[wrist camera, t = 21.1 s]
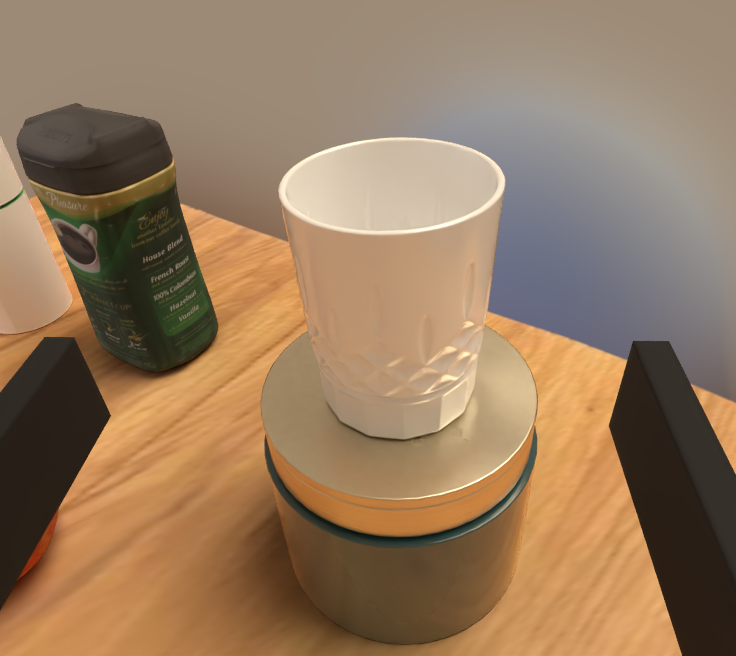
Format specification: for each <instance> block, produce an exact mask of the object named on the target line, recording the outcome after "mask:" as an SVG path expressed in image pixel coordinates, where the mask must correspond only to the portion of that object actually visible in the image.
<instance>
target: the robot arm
mask: <svg viewBox="0 0 736 656" xmlns="http://www.w3.org/2000/svg"><path fill="white" fill-rule="evenodd" d="M110 417H111V415H110V413H109V411H108V408H107V406H106V404H105V402H104V400H103V398H102V396H101V393H100V391H99V389H98V387H97V385H96V383H95V381H94V379H93V376H92V374H91V372H90V370H89V368H88V366H87V364H86V361H85V359H84V357H83V355H82V353H81V351H80V349H79V347H78V344H77V342H76V340H75V338H74V337H44V339H43V340H42V341H41V342H40V344H39V345H38V346H37V347H36V349H35V350H34V351H33V352H32V354H31V355H30V356H29V357H28V359H27V360H26V361H25V362H24V364H23V365H22V366H21V367H20V369H19V370H18V371H17V372H16V374H15V375H14V376H13V377H12V379H11V380H10V381H9V382H8V384H7V385H6V386H5V387H4V389H3V390H2V391H1V392H0V610H1V608H2V606H3V605H4V603H5V601H6V599H7V598H8V596H9V594H10V592H11V591H12V589H13V587H14V585H15V583H16V582H17V580H18V578H19V576H20V575H21V573H22V571H23V569H24V568H25V566H26V564H27V562H28V561H29V559H30V557H31V555H32V554H33V552H34V550H35V548H36V547H37V545H38V543H39V541H40V540H41V538H42V536H43V534H44V533H45V531H46V529H47V527H48V525H49V524H50V522H51V520H52V518H53V517H54V515H55V513H56V511H57V510H58V508H59V506H60V504H61V503H62V501H63V499H64V497H65V496H66V494H67V492H68V490H69V489H70V487H71V485H72V483H73V482H74V480H75V478H76V476H77V475H78V473H79V471H80V469H81V467H82V466H83V464H84V462H85V460H86V459H87V457H88V455H89V453H90V452H91V450H92V448H93V446H94V445H95V443H96V441H97V439H98V438H99V436H100V434H101V432H102V431H103V429H104V427H105V425H106V424H107V422H108V420H109V418H110ZM609 428H610V431H611V434H612V437H613V440H614V443H615V446H616V450H617V453H618V456H619V459H620V462H621V465H622V468H623V471H624V475H625V478H626V481H627V484H628V487H629V490H630V493H631V497H632V500H633V503H634V506H635V509H636V512H637V515H638V518H639V522H640V525H641V528H642V531H643V534H644V537H645V540H646V544H647V547H648V550H649V553H650V556H651V559H652V562H653V565H654V569H655V572H656V575H657V578H658V581H659V584H660V587H661V591H662V594H663V597H664V600H665V603H666V606H667V609H668V612H669V616H670V619H671V622H672V625H673V628H674V631H675V634H676V638H677V641H678V644H679V647H680V650H681V653H682V656H736V474H735V472H734V470H733V468H732V466H731V464H730V462H729V460H728V458H727V456H726V454H725V452H724V450H723V448H722V446H721V444H720V442H719V440H718V438H717V436H716V434H715V432H714V430H713V428H712V426H711V424H710V422H709V420H708V418H707V416H706V414H705V412H704V410H703V408H702V406H701V404H700V402H699V400H698V398H697V396H696V394H695V392H694V390H693V388H692V386H691V384H690V382H689V380H688V378H687V376H686V374H685V372H684V370H683V368H682V367H681V364H680V362H679V360H678V358H677V356H676V354H675V352H674V350H673V348H672V346H671V344H670V342H669V341H633V344H632V348H631V351H630V354H629V357H628V361H627V364H626V368H625V371H624V375H623V378H622V382H621V385H620V389H619V392H618V396H617V399H616V403H615V406H614V410H613V413H612V417H611V420H610V424H609Z"/></svg>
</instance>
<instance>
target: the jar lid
mask: <svg viewBox="0 0 736 656" xmlns="http://www.w3.org/2000/svg"><path fill="white" fill-rule="evenodd" d="M537 405H538V396H537V390H536V384H535V381H534V378H533V376H532V373H531V370H530V369H529V367H528V365H527V363H526V362H525V360H524V358H523V357H522V356H521V355H520V353H519V352H518V351H517V350H516V348H514V347H513V346H512V345H511V344H510V343H509V342H508V341H507V340H506V339H505V338H504V337H502V336H501V335H500V334H498V333H497V332H496V331H494V330H492V329H491V328H489V327H487V326H486V325H484V333H483V339H482V344H481V349H480V352H479V355H478V359H477V367H476V376H475V383H474V389H473V391H472V394H471V396H470V399H469V401H468V403H467V406H466V408H465V411H464V412H463V413H462V414H461V415H460V416H458V417H457V418H456V419H454V420H453V421H452V422H450V423H449V424H448V425H446V426H445V427H444V428H442V429H441V430H439V431H437V432H433V433H429V434H425V435H421V436H417V437H413V438H409V439H394V438H384V437H374V436H368V435H366V434H364V433H362V432H360V431H358V430H356V429H354V428H352V427H351V426H349V425H347V424H345V423H343V422H341V421H340V420H339V419H338V417H337V416H336V414H335V413H334V411H333V410H332V408H331V407H330V406H329V404H328V403H327V401H326V400H325V397H324V393H323V388H322V382H321V377H320V372H319V367H318V361H317V359H316V356H315V353H314V350H313V347H312V344H311V341H310V337H309V332H308V331H307V332H305V333H304V334H302V335H301V336H300V337H298V338H297V339H296V340H295V341H293V342H292V343H291V344H290V345H289V346H288V347H287V348H286V349H285V350H284V351H283V352H282V353H281V354H280V356H279V357H278V358H277V360H276V361H275V362H274V364H273V366H272V367H271V369H270V371H269V373H268V375H267V378H266V380H265V383H264V386H263V390H262V396H261V415H262V420H263V425H264V429H265V433H266V437H267V442H268V446H269V450H270V454H271V458H272V462H273V464H274V467H275V469H276V472H277V474H278V476H279V477H280V479H281V481H282V482H283V484H284V485H285V487H286V488H287V489H288V490H289V492H290V493H291V494H292V495H293V496H294V497H295V499H297V500H298V501H299V502H300V503H301V504H303V505H304V506H305V507H306V508H307V509H308V510H310V511H312V512H313V513H315V514H316V515H318V516H319V517H321V518H323V519H324V520H327V521H329V522H331V523H333V524H335V525H338V526H340V527H343V528H346V529H349V530H352V531H355V532H359V533H364V534H370V535H375V536H385V537H414V536H423V535H429V534H434V533H439V532H443V531H446V530H449V529H453V528H456V527H459V526H461V525H463V524H465V523H468V522H470V521H472V520H474V519H476V518H478V517H479V516H481V515H482V514H484V513H486V512H487V511H489V510H490V509H492V508H493V507H494V506H495V505H496V504H498V503H499V502H500V501H501V500H502V499H504V498H505V496H506V495H507V494H508V493H509V492H510V491H511V490H512V489H513V487H514V486H515V485H516V483H517V482H518V480H519V478H520V477H521V475H522V474H523V471H524V469H525V467H526V464H527V462H528V459H529V454H530V450H531V445H532V439H533V433H534V427H535V421H536V415H537Z"/></svg>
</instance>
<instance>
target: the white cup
mask: <svg viewBox="0 0 736 656" xmlns="http://www.w3.org/2000/svg"><path fill="white" fill-rule="evenodd" d="M504 189H505V177H504V174H503V172H502V170H501V169H500V167H499V166H498V165H497V164H496V163H495V162H494V161H493V160H492V159H490V158H488V157H487V156H486V155H484V154H482V153H480V152H478V151H476V150H473V149H471V148H468V147H465V146H461V145H458V144H454V143H450V142H445V141H440V140H432V139H423V138H382V139H373V140H365V141H358V142H353V143H348V144H344V145H340V146H336V147H333V148H330V149H327V150H324V151H321V152H319V153H316V154H314V155H312V156H310V157H308V158H306V159H304V160H302V161H301V162H299V163H298V164H296V165H295V166H294V167H292V168H291V169H290V170H289V171H288V172H287V173H286V174H285V175H284V177H283V178H282V180H281V182H280V185H279V191H278V194H279V199H280V204H281V208H282V213H283V218H284V222H285V227H286V231H287V236H288V241H289V245H290V250H291V255H292V260H293V265H294V269H295V274H296V279H297V284H298V289H299V293H300V298H301V303H302V308H303V312H304V315H305V318H306V321H307V327H308V332H309V337H310V341H311V344H312V347H313V350H314V353H315V356H316V359H317V361H318V367H319V372H320V377H321V382H322V388H323V393H324V397H325V400H326V401H327V403H328V404H329V406H330V407H331V408H332V410H333V411H334V413H335V414H336V416H337V417H338V419H339V420H340V421H341V422H343V423H345V424H347V425H349V426H351V427H352V428H354V429H356V430H358V431H360V432H362V433H364V434H366V435H368V436H374V437H384V438H394V439H409V438H413V437H417V436H421V435H425V434H429V433H433V432H437V431H439V430H441V429H442V428H444V427H445V426H446V425H448V424H449V423H450V422H452V421H453V420H454V419H456V418H457V417H458V416H460V415H461V414H462V413H463V412H464V411H465V408H466V406H467V403H468V401H469V399H470V396H471V394H472V391H473V389H474V383H475V376H476V367H477V359H478V355H479V352H480V349H481V344H482V339H483V333H484V324H485V319H486V315H487V310H488V304H489V297H490V290H491V283H492V276H493V267H494V261H495V253H496V245H497V239H498V231H499V224H500V217H501V210H502V203H503V196H504Z"/></svg>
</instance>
